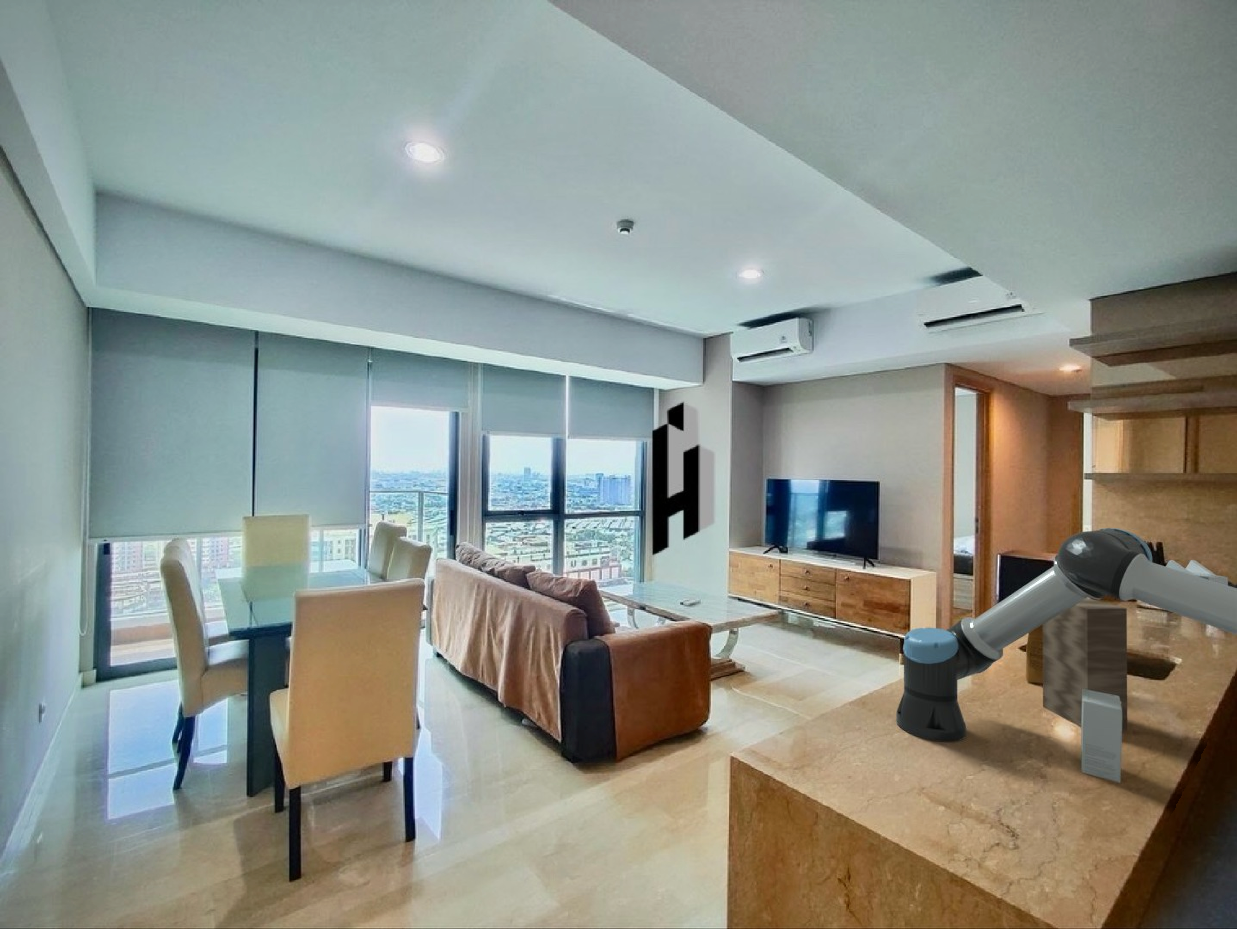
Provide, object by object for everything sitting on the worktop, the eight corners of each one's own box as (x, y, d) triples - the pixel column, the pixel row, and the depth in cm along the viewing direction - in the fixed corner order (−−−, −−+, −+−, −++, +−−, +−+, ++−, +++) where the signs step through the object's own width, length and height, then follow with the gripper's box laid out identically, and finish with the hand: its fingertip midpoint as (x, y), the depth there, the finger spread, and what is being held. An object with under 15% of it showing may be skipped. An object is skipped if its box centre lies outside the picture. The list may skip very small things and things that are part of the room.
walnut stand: (1127, 730, 138) (1126, 608, 138) (1087, 730, 137) (1087, 608, 138) (1078, 706, 152) (1078, 595, 152) (1042, 706, 151) (1042, 595, 152)
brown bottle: (1072, 681, 170) (1072, 609, 170) (1061, 691, 162) (1061, 615, 162) (1032, 672, 177) (1032, 603, 178) (1020, 681, 170) (1020, 609, 170)
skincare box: (1081, 757, 124) (1080, 687, 125) (1120, 767, 120) (1120, 695, 120) (1081, 773, 118) (1080, 699, 118) (1123, 784, 114) (1122, 708, 114)
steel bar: (1227, 592, 113) (1227, 577, 113) (1208, 592, 113) (1208, 577, 113) (1122, 571, 136) (1122, 559, 136) (1106, 571, 136) (1106, 559, 136)
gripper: (1238, 663, 102) (1132, 578, 122) (1328, 663, 102) (1207, 578, 123) (1262, 634, 98) (1149, 551, 119) (1355, 633, 99) (1226, 551, 119)
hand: (1179, 565), depth 121 cm, fingers closed on steel bar, 4 cm apart
